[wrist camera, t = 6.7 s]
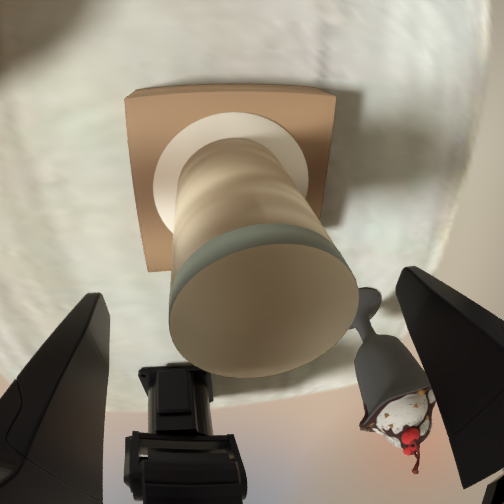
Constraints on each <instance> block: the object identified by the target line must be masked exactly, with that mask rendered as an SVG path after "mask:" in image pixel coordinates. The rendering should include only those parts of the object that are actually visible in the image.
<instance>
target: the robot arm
mask: <svg viewBox="0 0 504 504" xmlns="http://www.w3.org/2000/svg"><path fill="white" fill-rule="evenodd" d="M396 295H397V298H398V301H399V304H400V307H401V310H402V313H403V316H404V319H405V322H406V325H407V328H408V331H409V333H410V336H411V338H412V341H413V343H414V345H415V348H416V350H417V353H418V355H419V357H420V360H421V363H422V365H423V367H424V370H425V373H426V375H427V378H428V380H429V383H430V386H431V388H432V391H433V394H434V397H435V399H436V402H437V405H438V407H439V411H440V413H441V416H442V419H443V422H444V425H445V428H446V431H447V434H448V437H449V441H450V445H451V448H452V451H453V455H454V458H455V462H456V465H457V469H458V472H459V476H460V480H461V484H462V486H463V489H466V488H468V487H470V486H472V485H474V484H476V483H477V482H479V481H481V480H483V479H485V478H486V477H488V476H490V475H492V474H494V473H496V472H497V471H499V470H501V469H502V471H503V474H502V475H501V476H499V477H498V478H497V479H495V480H494V481H493V482H491V483H490V484H488V485H487V488H486V492H485V495H484V498H483V501H482V504H504V321H503V320H502V319H500V318H498V317H497V316H495V315H494V314H492V313H491V312H489V311H488V310H486V309H484V308H483V307H481V306H480V305H478V304H477V303H475V302H474V301H472V300H470V299H469V298H467V297H466V296H464V295H463V294H461V293H459V292H458V291H456V290H454V289H453V288H451V287H450V286H448V285H446V284H445V283H443V282H441V281H439V280H438V279H436V278H435V277H433V276H431V275H430V274H428V273H426V272H425V271H423V270H421V269H420V268H418V267H416V266H409V267H405V268H404V269H403V270H402V272H401V274H400V277H399V279H398V282H397V284H396ZM109 341H110V315H109V312H108V309H107V306H106V303H105V300H104V298H103V295H102V294H101V293H99V292H98V293H88V294H86V295H85V296H84V297H83V298H82V299H81V301H80V302H79V303H78V304H77V305H76V306H75V307H74V308H73V310H72V311H71V312H70V313H69V314H68V315H67V316H66V318H65V319H64V320H63V321H62V322H61V323H60V324H59V326H58V327H57V328H56V329H55V330H54V332H53V333H52V334H51V335H50V336H49V337H48V339H47V340H46V341H45V342H44V343H43V345H42V346H41V347H40V348H39V350H38V351H37V352H36V353H35V355H34V356H33V357H32V358H31V360H30V361H29V362H28V363H27V365H26V366H25V367H24V368H23V370H22V371H21V372H20V374H19V375H18V376H17V379H15V380H14V381H13V383H12V384H11V385H10V387H9V388H8V389H7V390H6V392H5V393H4V394H3V396H2V397H1V398H0V504H103V502H102V501H103V494H102V493H103V488H102V487H103V485H102V483H103V481H102V480H103V479H102V478H103V475H102V474H103V471H102V470H103V439H104V421H105V407H106V395H107V385H108V375H109ZM138 376H139V379H140V381H141V383H142V385H143V387H144V390H145V392H146V394H147V396H148V433H140V432H138V431H133V433H132V436H129V437H126V439H125V465H124V483H125V484H126V485H127V486H129V488H130V489H131V492H132V493H133V497H134V500H136V501H143V504H243V502H242V500H244V499H245V498H246V495H247V477H246V472H245V469H244V466H243V462H242V460H241V457H240V453H239V450H238V447H237V444H236V441H235V437H234V434H227V435H213V430H212V421H211V413H210V404H209V402H212V401H213V392H212V384H211V376H210V372H207V371H205V370H203V369H200V368H198V367H181V368H162V369H141V370H139V371H138ZM140 454H143V455H148V457H140Z"/></svg>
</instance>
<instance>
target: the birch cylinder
mask: <svg viewBox="0 0 504 504" xmlns="http://www.w3.org/2000/svg"><path fill="white" fill-rule="evenodd" d="M358 304H359V290H358V286H357V283H356V279H355V277H354V275H353V273H352V271H351V270H350V268H349V266H348V265H347V263H346V261H345V260H344V258H343V257H342V255H341V253H340V252H339V251H338V249H337V248H336V247H335V245H334V243H333V242H332V240H331V239H330V237H329V235H328V234H327V232H326V231H325V229H324V228H323V226H322V224H321V223H320V221H319V220H318V218H317V217H316V215H315V214H314V212H313V210H312V209H311V207H310V206H309V204H308V203H307V201H306V200H305V198H304V197H303V195H302V194H301V192H300V191H299V189H298V188H297V186H296V185H295V183H294V182H293V180H292V179H291V177H290V176H289V174H288V173H287V172H286V170H285V169H284V167H283V166H282V164H281V163H280V161H279V160H278V159H277V157H276V156H275V155H274V154H273V153H272V152H271V151H270V150H269V149H268V148H266V147H265V146H263V145H261V144H259V143H257V142H255V141H252V140H248V139H243V138H225V139H221V140H217V141H214V142H211V143H209V144H207V145H205V146H203V147H202V148H200V149H199V150H197V151H196V152H195V153H194V154H193V155H192V156H191V157H190V158H189V159H188V160H187V162H186V163H185V165H184V166H183V168H182V170H181V173H180V176H179V179H178V184H177V194H176V205H175V218H174V231H173V247H172V265H171V287H170V298H169V330H170V335H171V338H172V341H173V343H174V345H175V347H176V348H177V350H178V351H179V352H180V354H181V355H182V356H183V357H184V358H185V359H186V360H188V361H189V362H190V363H192V364H193V365H195V366H196V367H198V368H200V369H203V370H205V371H207V372H210V373H213V374H217V375H221V376H227V377H234V378H257V377H265V376H271V375H276V374H280V373H284V372H287V371H290V370H293V369H296V368H298V367H301V366H303V365H305V364H307V363H309V362H311V361H313V360H314V359H316V358H318V357H319V356H321V355H322V354H324V353H325V352H327V351H328V350H329V349H330V348H332V347H333V346H334V345H335V344H336V343H337V342H338V341H339V340H340V339H341V338H342V337H343V336H344V334H345V333H346V332H347V330H348V329H349V327H350V326H351V324H352V322H353V320H354V318H355V316H356V313H357V309H358Z"/></svg>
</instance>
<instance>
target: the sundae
mask: <svg viewBox="0 0 504 504" xmlns="http://www.w3.org/2000/svg"><path fill="white" fill-rule="evenodd" d="M358 290H359V304H358V309H357V313H356V316H355V318H354V320H353V322H352V324H351V326H350V327H349V329H353V328H356V330H357V331H358V332H359V334H360V336H361V338H362V340H363V344H362V345H361V347H360V348H359V350H358V352H357V355H356V358H355V360H354V364H355V370H356V376H357V381H358V384H359V388H360V392H361V396H362V400H363V404H364V410H365V416H364V418H363V419H362V421H361V422H360V425H359V426H360V430H364V431H369V432H377V433H379V434H381V435H384V436H385V437H386V439H387V440H388V441H389V442H390V443H391V444H392V445H394V446H396V447H399V448H403V449H404V450H403V452H404V454H406V455H413V454H414V455H415V457H416V458H417V462H416V464H415V466H414V468H413V470H412V472H413V473H414V474H418V466H419V459H420V453H419V448H420V443H421V442H423V441H424V440H425V438H427V436H428V434H429V433H430V430H431V427H432V410H433V407H434V406H435V403H436V399H435V397H434V394H433V391H432V388H431V386H430V383H429V380H428V378H427V375H426V373H425V371H424V370H423V369H422V368H421V366H420V365H419V364H418V362H417V361H416V359H415V358H414V357H413V356H412V354H411V353H410V351H409V350H408V349H407V348H406V347H405V346H404V345H403V343H402V342H401V341H400V340H399V339H398V338H397V337H394V336H390V335H378V334H376V333H375V331H374V330H373V328H372V326H371V323H370V319H371V318H372V317H373V316H374V315H375V314H376V312H377V311H378V309H379V306H380V303H381V297H380V294H379V293H378V292H377V291H376V290H373V289H368V288H364V289H358ZM416 452H417V454H416Z"/></svg>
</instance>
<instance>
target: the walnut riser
mask: <svg viewBox="0 0 504 504" xmlns="http://www.w3.org/2000/svg"><path fill="white" fill-rule="evenodd" d="M124 101H125V114H126V126H127V137H128V147H129V156H130V164H131V172H132V180H133V187H134V194H135V201H136V208H137V214H138V220H139V226H140V232H141V238H142V243H143V249H144V254H145V259H146V264H147V269H148V272H158V271H171V265H172V247H173V231H174V218H175V205H176V194H177V184H178V179H179V176H180V173H181V170H182V168H183V166H184V165H185V163H186V162H187V160H188V159H189V158H190V157H191V156H192V155H193V154H194V153H195V152H196V151H197V150H199V149H200V148H202V147H203V146H205V145H207V144H209V143H211V142H214V141H217V140H221V139H225V138H243V139H248V140H252V141H255V142H257V143H259V144H261V145H263V146H265V147H266V148H268V149H269V150H270V151H271V152H272V153H273V154H274V155H275V156H276V157H277V159H278V160H279V161H280V163H281V164H282V166H283V167H284V169H285V170H286V172H287V173H288V174H289V176H290V177H291V179H292V180H293V182H294V183H295V185H296V186H297V188H298V189H299V191H300V192H301V194H302V195H303V197H304V198H305V200H306V201H307V203H308V204H309V206H310V207H311V209H312V210H313V212H314V214H315V215H316V217H317V218H318V220H319V219H320V213H321V207H322V200H323V194H324V187H325V181H326V174H327V167H328V160H329V153H330V145H331V138H332V130H333V122H334V113H335V104H336V96H334V95H332V94H329V93H327V92H324V91H322V90H319V89H317V88H314V87H304V86H290V85H270V84H203V85H183V86H169V87H157V88H147V89H138V90H135V91H134V92H133V93H131V94H130V95H129V96H127V97H126V98H125V99H124Z"/></svg>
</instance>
